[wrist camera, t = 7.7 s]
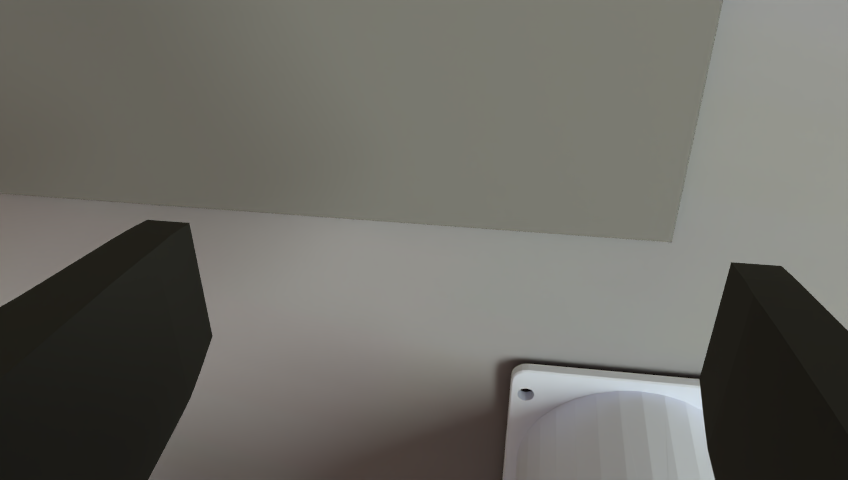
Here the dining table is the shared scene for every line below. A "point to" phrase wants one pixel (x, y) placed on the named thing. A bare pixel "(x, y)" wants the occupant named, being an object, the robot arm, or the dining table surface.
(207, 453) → the dining table surface
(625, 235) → the building mat
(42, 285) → the robot arm
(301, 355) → the dining table surface
